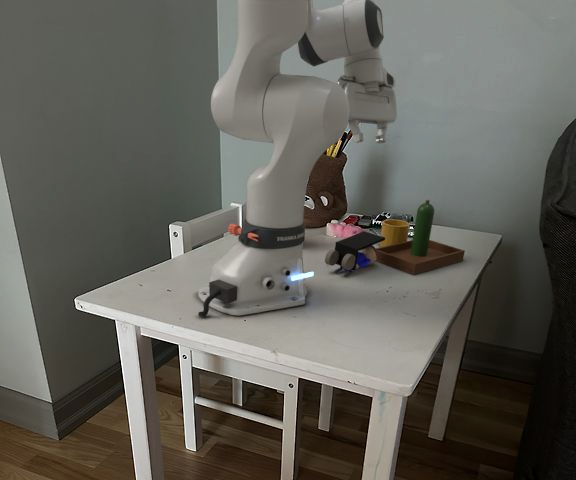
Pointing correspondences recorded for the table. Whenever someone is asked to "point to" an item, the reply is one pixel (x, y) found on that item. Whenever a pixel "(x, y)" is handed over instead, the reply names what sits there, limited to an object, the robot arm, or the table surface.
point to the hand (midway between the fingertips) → (370, 142)
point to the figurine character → (354, 252)
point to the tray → (418, 257)
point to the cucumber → (422, 229)
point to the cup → (394, 232)
